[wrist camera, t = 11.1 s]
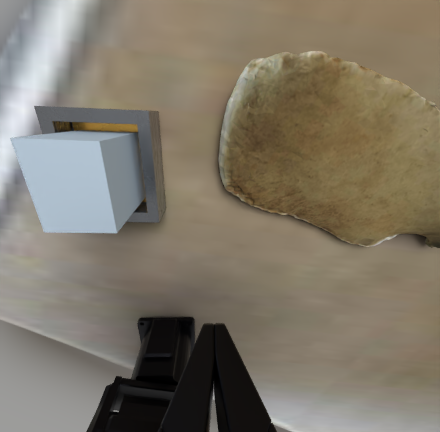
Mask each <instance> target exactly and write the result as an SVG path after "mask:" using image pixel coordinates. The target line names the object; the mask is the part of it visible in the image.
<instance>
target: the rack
mask: <svg viewBox="0 0 440 432" xmlns="http://www.w3.org/2000/svg"><path fill="white" fill-rule="evenodd" d="M34 107H35V110H36V114H37V117H38V120H39V124H40V127H41V130H42V134H51V133H60V132H69V131H78V130H92V131H118V132H138V136H139V144H140V153H141V161H142V170H143V178H144V187H145V196H146V197H145V198H144V200H143V201H142V202H141V203H140V205H139V206H138V207H137V209H136V210H135V211H134V212H133V214H132V215H131V216H130V217H129V219H128V220H127V221H126V222H160V220H161V218H162V216H163V213H164V211H165V209H166V202H165V189H164V177H163V164H162V151H161V138H160V126H159V113H158V111H142V110H117V109H93V108H69V107H45V106H34Z"/></svg>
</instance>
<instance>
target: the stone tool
mask: <svg viewBox="0 0 440 432" xmlns="http://www.w3.org/2000/svg"><path fill="white" fill-rule="evenodd" d="M436 107H437V106H436V105H435V103H434V102H430V101H427V100H425V98H423V97H421V96H420V95H419V94H418V93H417V92H415V91H413V90H412V89H411V88H409V87H408V86H407V85H405V84H403V83H402V82H400V81H397V80H393V79H390V78H386V77H384V76H382V75H380V74H378V73H376V72H374V71H372V70H370V69H368V68H365V67H362V66H360V65H359V64H357V63H356V62H348V61H344V60H341V59H339V58H330V57H329V56H328V55H327V54H326V53H324V52H322V51H309V52H305V53H302V54H299V55H295V54H291V53H289V52H283V53H279V54H276V55H273V56H271V57H269V58H258V59H253V60H252V61H251V62H250V63H249V64H248V65H247V66H246V68H245V69H244V71H243V72H242V74H241V76H240V77H239V79H238V81H237V84H236V87H235V88H234V90H233V92H232V94H231V97H230V99H229V101H228V104H227V107H226V111H225V116H224V121H223V125H222V131H221V138H220V148H219V169H220V175H221V178H222V182H223V184H224V187H225V189H226V190H227V191H229V192H231V193H233V195H235V196H238V197H239V198H240V199H241V201H244V202H247V203H248V204H249V205H250V206H254V207H257V208H260V209H261V210H264V211H268V212H269V213H278V214H280V215H286V214H289V215H291V216H294V217H295V218H297V219H302V220H305V221H307V222H308V223H311V224H313V225H315V226H318V227H320V228H322V229H324V230H326V231H328V232H330V233H331V234H333V235H335V236H336V237H338V238H340V239H341V240H343V241H346V242H348V243H350V244H359V245H360V246H365V247H371V246H375V245H378V244H380V243H381V242H382V241H384V240H390V239H391V238H394V237H395V236H396V235H398V234H419V235H423V236H426V237H427V238H426V244H427V245H428V246H429V247H431V248H432V247H437V248H440V110H438V109H437V108H436Z"/></svg>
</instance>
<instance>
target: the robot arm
mask: <svg viewBox="0 0 440 432" xmlns="http://www.w3.org/2000/svg"><path fill="white" fill-rule="evenodd" d="M138 329H139V334H140V340H141V347H140V351H139V354H138V357H137V361H136V364H135V367H134V371H133V374H132V378H131V379H126V378H122V377H121V376H116V378H115V380H114V383H112V384H110V385H108V386H106V388H105V391H104V393H103V396H102V398H101V401H100V403H99V406H98V408H97V410H96V413H95V415H94V417H93V419H92V421H91V423H90V425H89V428H88V430H87V432H209V430H210V419H211V408H212V398H213V384H214V394H215V404H216V413H217V422H218V431H219V432H277V431H276V429H275V427H274V425H273V423H271V419H270V417H269V415H268V413H267V410H266V408H265V406H264V404H263V402H262V400H261V398H260V396H259V394H258V392H257V390H256V388H255V386H254V384H253V382H252V379H251V377H250V375H249V373H248V371H247V369H246V367H245V365H244V363H243V361H242V359H241V357H240V355H239V353H238V350H237V348H236V346H235V344H234V342H233V340H232V338H231V336H230V334H229V332H228V330H227V328H226V326H225V324H223V323H216V324H212V323H207V324H204V325H203V326H202V329H201V331H200V333H199V336H198V338H197V340H196V343H195V322H194V319H193V318H191V317H184V318H140V319H139V321H138ZM113 410H118V411H119V412H113Z"/></svg>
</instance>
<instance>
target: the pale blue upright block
mask: <svg viewBox="0 0 440 432" xmlns="http://www.w3.org/2000/svg"><path fill="white" fill-rule="evenodd" d="M10 139H11V142H12V145H13V147H14V150H15V153H16V156H17V158H18V161H19V164H20V167H21V170H22V172H23V175H24V178H25V181H26V183H27V186H28V189H29V192H30V194H31V197H32V200H33V203H34V205H35V208H36V211H37V214H38V217H39V219H40V222H41V225H42V228H43V230H44V232H64V233H118V231H119V230H120V229H121V228H122V226H123V225H124V224H125V222H126V221H127V220H128V219H129V217H130V216H131V215H132V214H133V212H134V211H135V210H136V209H137V207H138V206H139V205H140V203H141V202H142V201H143V200H144V198H145V197H146V196H145V187H144V178H143V170H142V161H141V153H140V144H139V136H138V132H118V131H92V130H78V131H69V132H60V133H51V134H42V135H33V136H24V137H15V138H10Z"/></svg>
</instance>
